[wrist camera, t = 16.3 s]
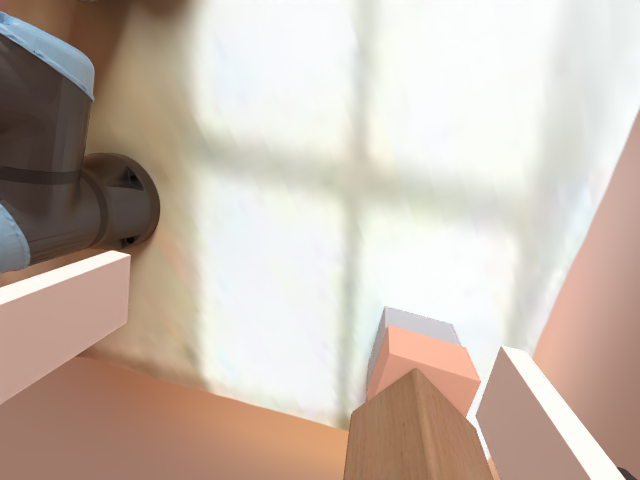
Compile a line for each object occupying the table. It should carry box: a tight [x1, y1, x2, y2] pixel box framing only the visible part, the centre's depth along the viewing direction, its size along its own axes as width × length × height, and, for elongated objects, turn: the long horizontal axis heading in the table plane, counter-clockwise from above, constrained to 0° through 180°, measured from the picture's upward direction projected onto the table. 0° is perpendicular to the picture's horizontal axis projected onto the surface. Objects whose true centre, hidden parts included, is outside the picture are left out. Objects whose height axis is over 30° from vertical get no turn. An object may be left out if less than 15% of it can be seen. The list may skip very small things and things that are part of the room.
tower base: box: [367, 306, 461, 390], centre depth 49 cm, size 10×10×7 cm
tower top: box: [367, 324, 481, 418], centre depth 42 cm, size 10×10×7 cm
